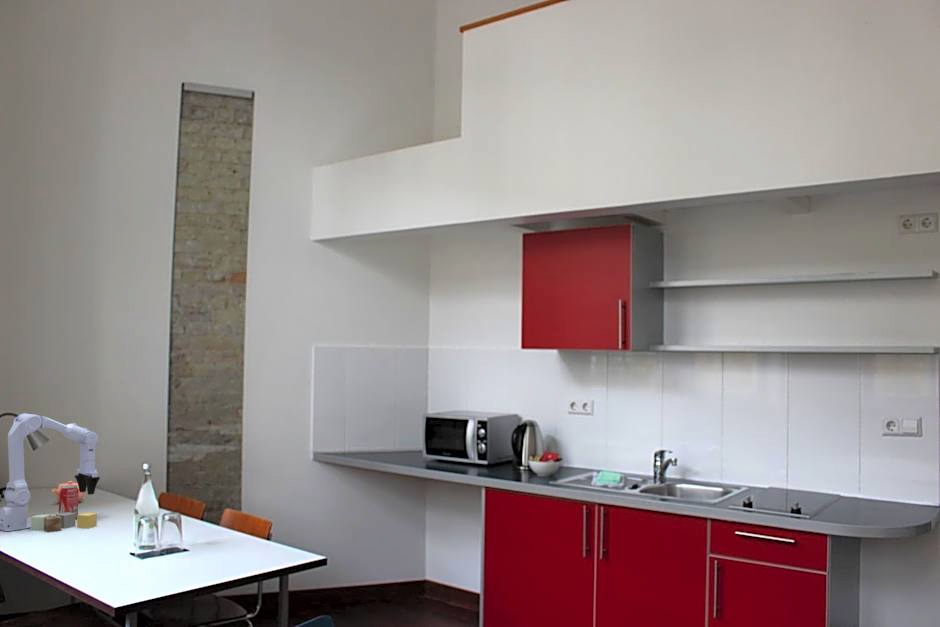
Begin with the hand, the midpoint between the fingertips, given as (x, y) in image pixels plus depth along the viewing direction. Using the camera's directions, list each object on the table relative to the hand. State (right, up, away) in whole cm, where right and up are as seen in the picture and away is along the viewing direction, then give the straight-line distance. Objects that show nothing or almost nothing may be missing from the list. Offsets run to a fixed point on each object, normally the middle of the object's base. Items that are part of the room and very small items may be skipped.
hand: (86, 493), depth 361 cm
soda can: (-7, -10, -2) cm, 12 cm away
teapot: (-23, -11, +32) cm, 41 cm away
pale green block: (-8, -10, -21) cm, 25 cm away
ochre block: (+8, -10, -17) cm, 21 cm away
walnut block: (-2, -9, -24) cm, 26 cm away
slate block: (-1, -10, -17) cm, 20 cm away
